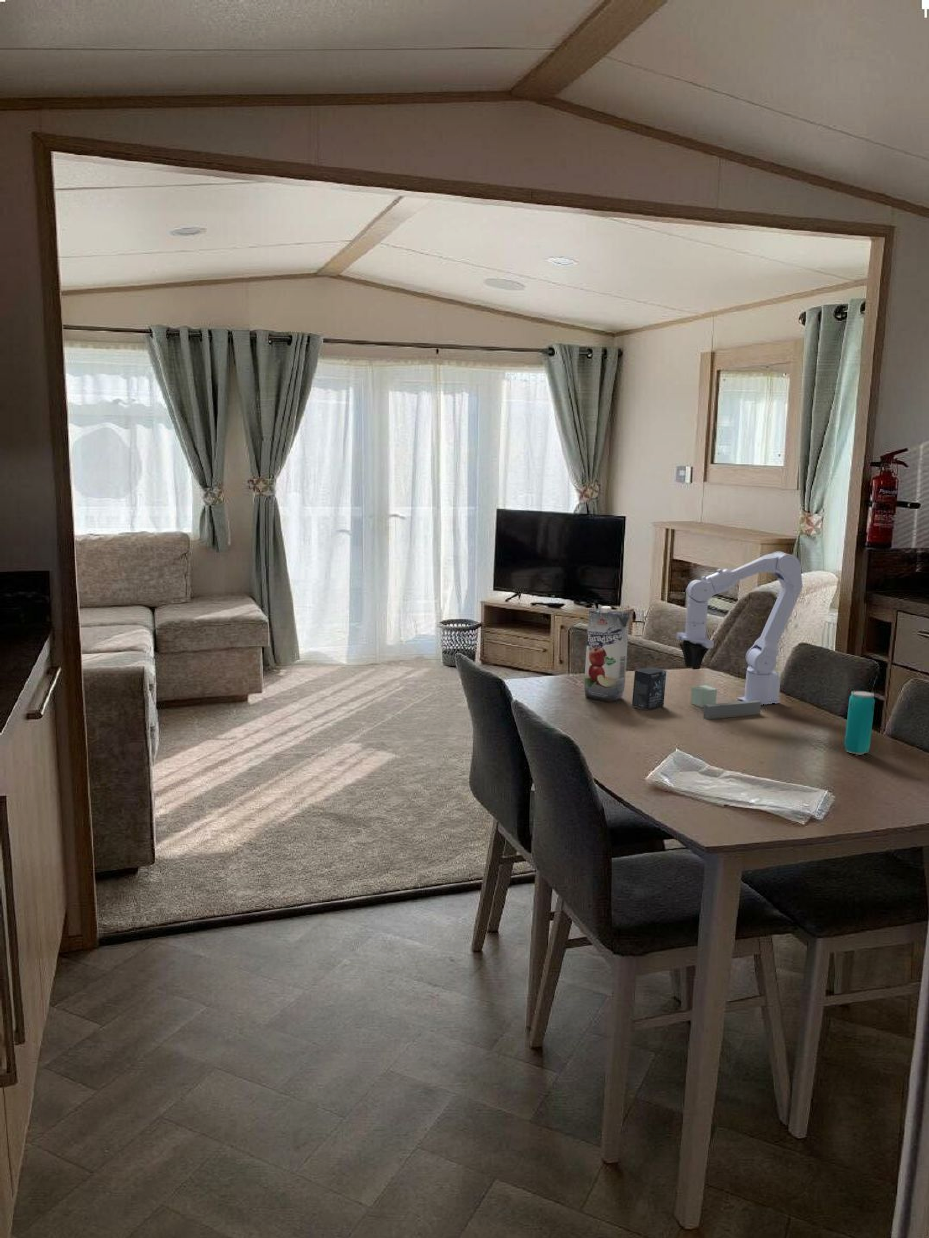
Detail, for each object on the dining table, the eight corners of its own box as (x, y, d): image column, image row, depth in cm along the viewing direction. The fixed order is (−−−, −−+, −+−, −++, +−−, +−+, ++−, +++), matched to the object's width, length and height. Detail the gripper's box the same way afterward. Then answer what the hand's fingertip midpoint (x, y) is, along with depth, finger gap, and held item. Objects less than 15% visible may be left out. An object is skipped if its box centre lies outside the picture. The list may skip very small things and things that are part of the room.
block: (704, 702, 286) (705, 685, 286) (715, 706, 282) (717, 689, 281) (690, 703, 284) (691, 686, 284) (701, 707, 280) (702, 690, 279)
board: (755, 712, 277) (756, 700, 276) (759, 714, 275) (761, 701, 274) (703, 717, 269) (704, 704, 269) (708, 719, 267) (709, 706, 267)
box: (647, 710, 274) (650, 673, 272) (631, 706, 278) (633, 669, 276) (664, 706, 279) (667, 669, 278) (647, 702, 283) (650, 666, 282)
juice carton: (594, 691, 293) (600, 602, 288) (626, 698, 287) (633, 606, 282) (580, 697, 286) (585, 605, 281) (612, 703, 280) (618, 609, 275)
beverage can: (868, 751, 243) (874, 692, 241) (869, 757, 238) (876, 697, 235) (843, 748, 245) (849, 689, 243) (844, 754, 240) (850, 694, 237)
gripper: (669, 618, 289) (666, 663, 292) (701, 626, 276) (697, 674, 279) (689, 617, 292) (685, 662, 295) (721, 625, 279) (717, 672, 282)
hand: (692, 667), depth 287 cm, fingers open, 3 cm apart
